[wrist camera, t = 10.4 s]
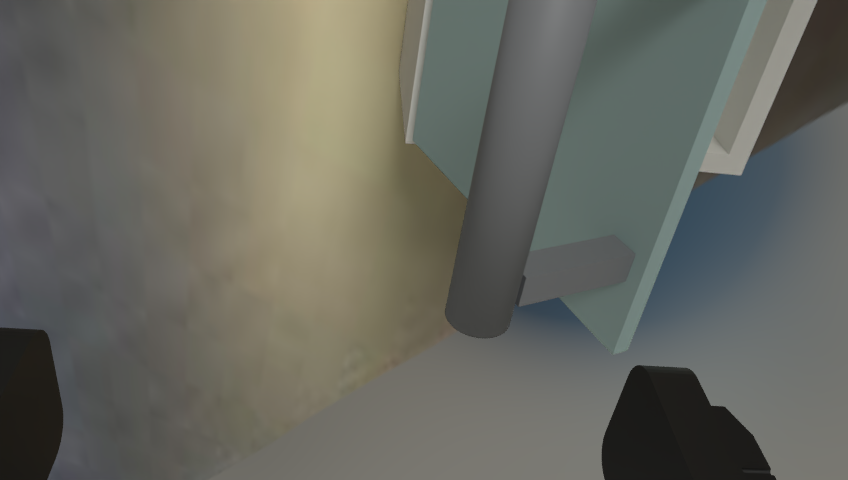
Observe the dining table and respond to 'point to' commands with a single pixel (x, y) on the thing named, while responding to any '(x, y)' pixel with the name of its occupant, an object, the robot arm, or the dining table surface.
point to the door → (572, 145)
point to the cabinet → (742, 110)
